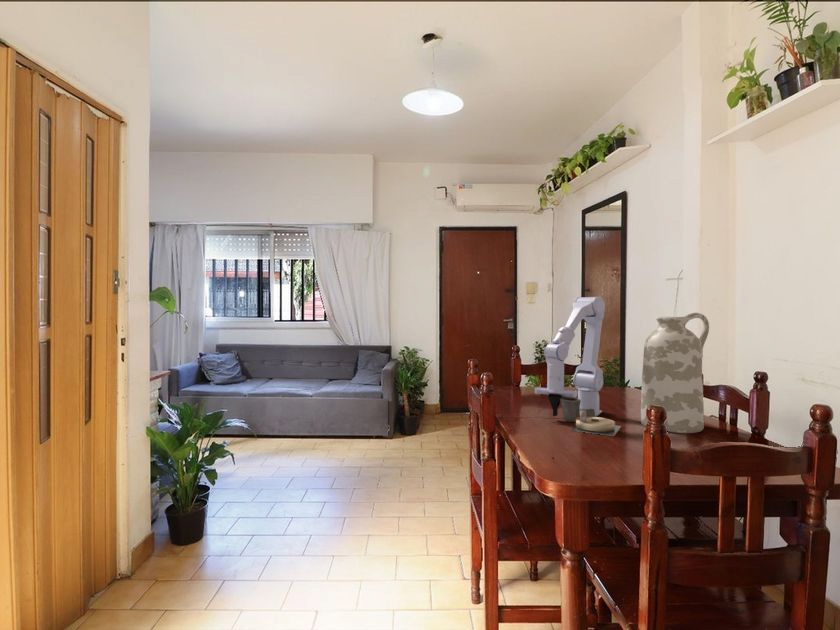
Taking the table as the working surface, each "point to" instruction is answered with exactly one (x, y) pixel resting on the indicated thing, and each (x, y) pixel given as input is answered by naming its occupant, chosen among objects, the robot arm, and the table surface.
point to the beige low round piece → (594, 423)
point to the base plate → (607, 433)
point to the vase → (675, 373)
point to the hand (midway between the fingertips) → (555, 415)
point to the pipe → (573, 409)
